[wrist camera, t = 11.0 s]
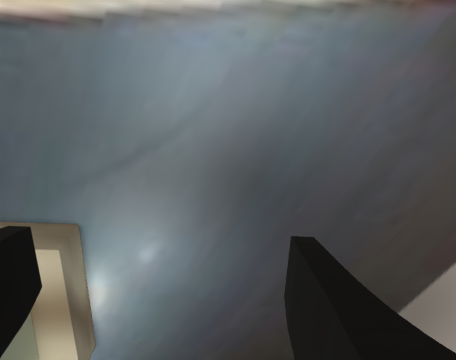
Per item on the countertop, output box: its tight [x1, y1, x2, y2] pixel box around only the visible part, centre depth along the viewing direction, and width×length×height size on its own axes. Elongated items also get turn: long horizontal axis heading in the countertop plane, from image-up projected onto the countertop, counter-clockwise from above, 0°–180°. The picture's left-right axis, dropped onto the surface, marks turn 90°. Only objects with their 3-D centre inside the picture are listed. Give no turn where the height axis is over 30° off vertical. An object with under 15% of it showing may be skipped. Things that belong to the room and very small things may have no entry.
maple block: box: [0, 222, 96, 360], centre depth 22 cm, size 9×9×3 cm
